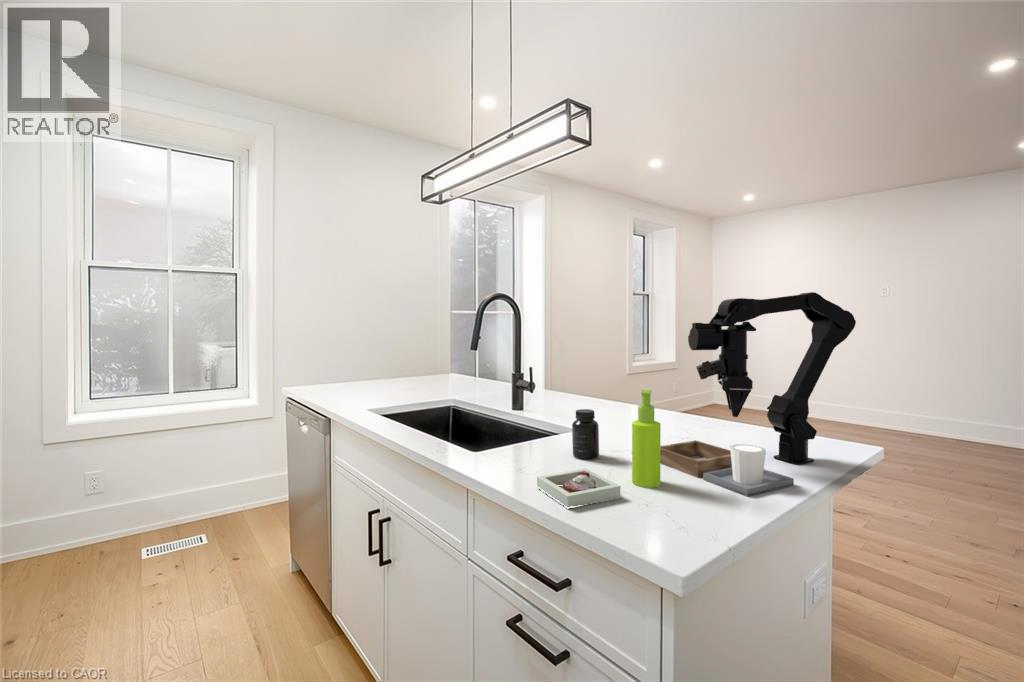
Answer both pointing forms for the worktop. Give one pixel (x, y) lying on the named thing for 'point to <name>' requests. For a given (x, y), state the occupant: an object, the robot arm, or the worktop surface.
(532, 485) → the worktop surface
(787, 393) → the robot arm
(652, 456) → the soap dispenser
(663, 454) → the walnut bin
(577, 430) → the supplement bottle
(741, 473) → the white tapered cup
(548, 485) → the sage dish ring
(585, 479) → the pastry
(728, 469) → the charcoal tray
